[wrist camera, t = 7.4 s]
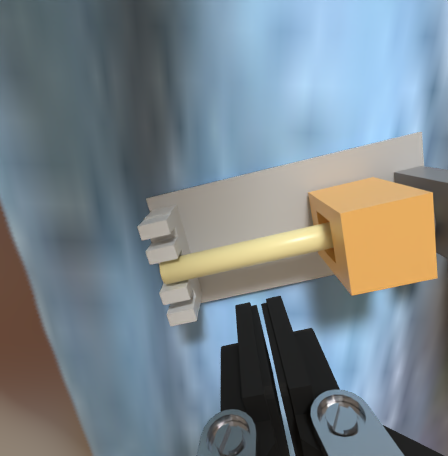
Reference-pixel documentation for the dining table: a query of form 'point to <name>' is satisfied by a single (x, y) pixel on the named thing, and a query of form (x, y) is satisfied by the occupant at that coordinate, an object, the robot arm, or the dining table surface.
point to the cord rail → (269, 223)
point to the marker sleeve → (377, 233)
